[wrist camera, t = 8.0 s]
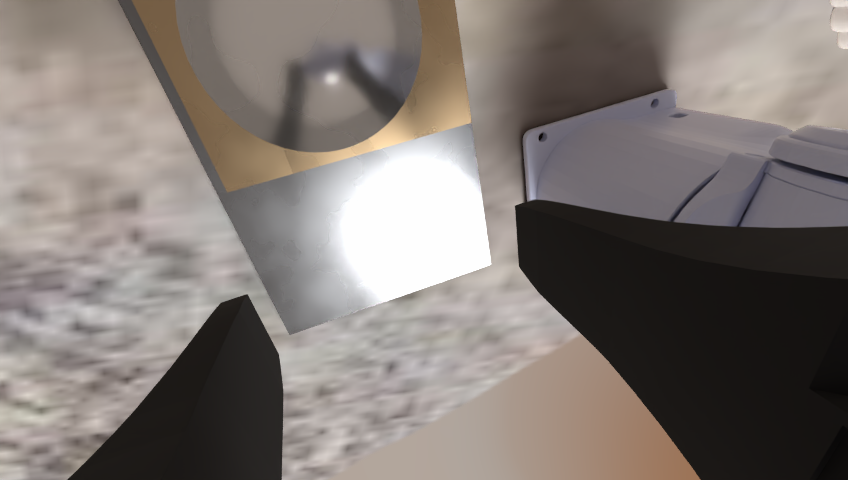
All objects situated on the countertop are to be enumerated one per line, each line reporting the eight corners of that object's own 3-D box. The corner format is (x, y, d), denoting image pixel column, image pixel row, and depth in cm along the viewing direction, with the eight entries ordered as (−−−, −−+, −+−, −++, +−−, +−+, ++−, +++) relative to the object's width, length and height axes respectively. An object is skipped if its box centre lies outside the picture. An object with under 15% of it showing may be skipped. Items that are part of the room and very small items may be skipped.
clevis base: (415, -207, 14) (468, -319, 10) (484, 256, 24) (525, 303, 19) (50, -154, 12) (-87, -264, 8) (289, 323, 22) (287, 391, 18)
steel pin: (345, -36, 14) (399, -133, 6) (369, 77, 16) (435, 128, 8) (235, -19, 14) (120, -99, 5) (274, 97, 16) (235, 173, 7)
